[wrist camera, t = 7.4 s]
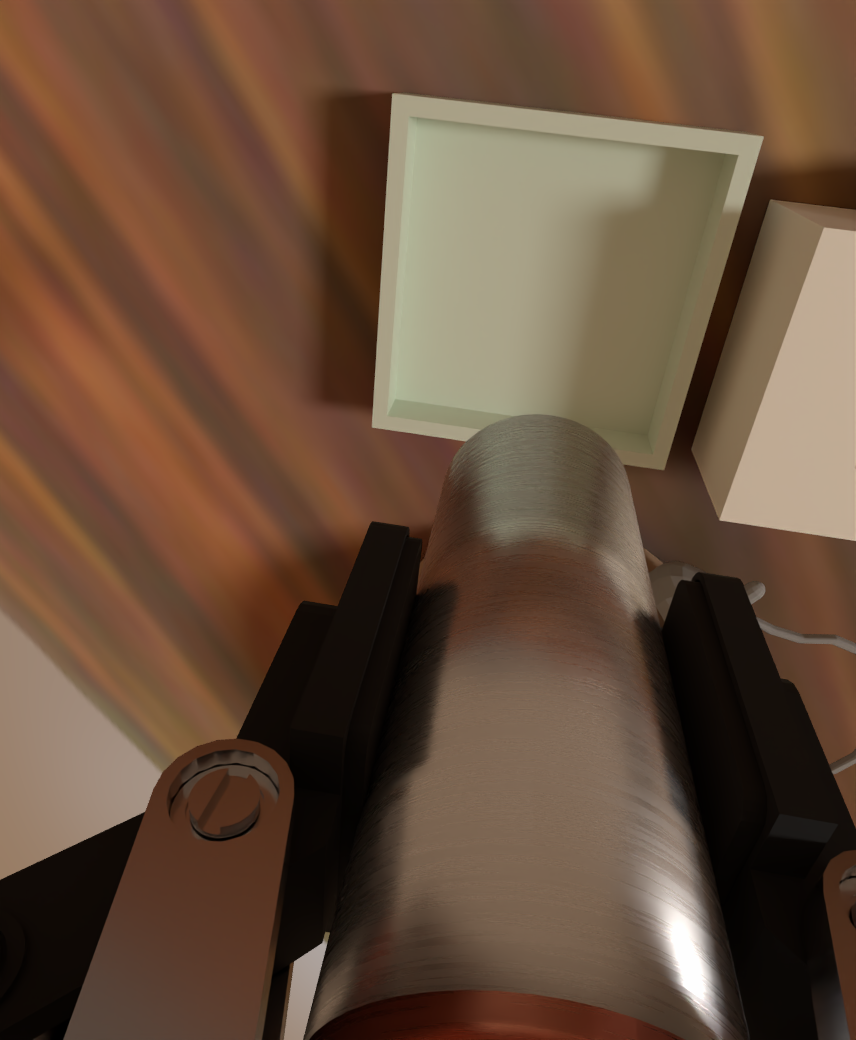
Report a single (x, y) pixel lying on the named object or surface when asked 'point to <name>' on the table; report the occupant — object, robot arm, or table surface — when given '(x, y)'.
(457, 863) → the pin
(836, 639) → the alarm clock
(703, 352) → the table surface
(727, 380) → the block
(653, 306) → the tray
